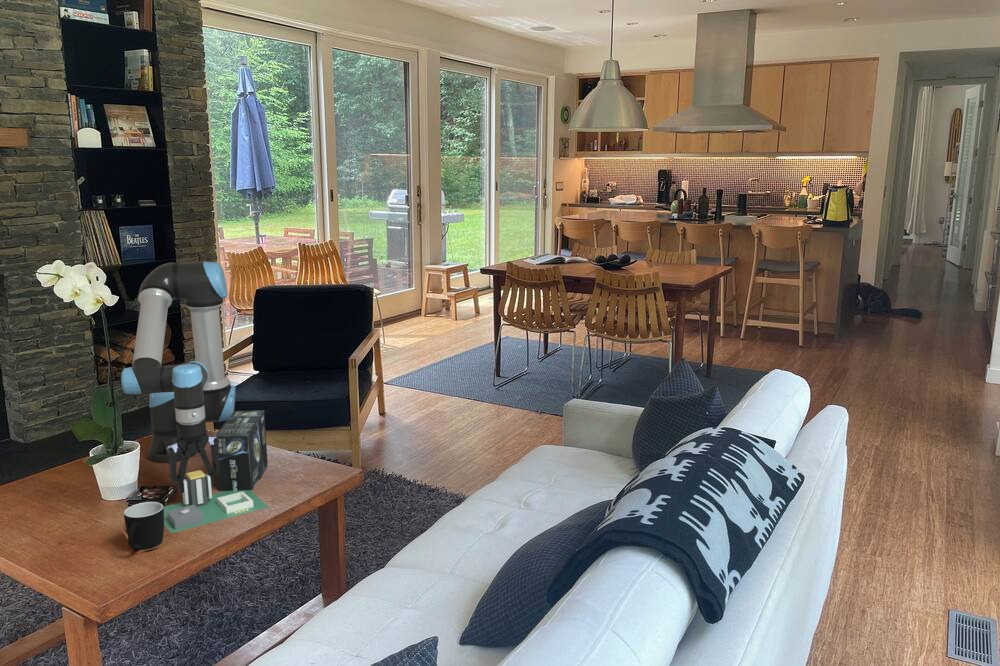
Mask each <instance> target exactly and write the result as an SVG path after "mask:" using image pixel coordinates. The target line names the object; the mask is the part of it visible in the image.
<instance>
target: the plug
mask: <svg viewBox="0 0 1000 666" xmlns="http://www.w3.org/2000/svg"><path fill="white" fill-rule="evenodd" d="M205 474H206V473H204V472H203V471H202V470H201V469H199V470H194V471H191V472H190V471H189V472H186V473H185V477H186V481H187V490H188V501H189V504H190V505H195V506H196V507H199V506H203V505H207V492H206V480H205Z"/></svg>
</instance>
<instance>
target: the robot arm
mask: <svg viewBox="0 0 1000 666" xmlns="http://www.w3.org/2000/svg"><path fill="white" fill-rule="evenodd" d="M228 295H229V293H228V284H227V279H226V275H225V272H224V268H223V267H222V265H221V264H220V263H219V262H216V261H186V262H183V261H181V262H167V263H163V264H161V265H159V266H156V268H154V269H153V270H152V271H151V272H150V273H148V275H147V276H146V277H145V279H144V280H143V281H142V283H141V284H140V288H139V290H138V297H137V301H138V303H139V304H140V309H139V315H138V322H137V329H136V336H135V342H134V351H133V357H132V364H131V365H132V366H130V367H125V368H123V370H122V371H121V374H120V382H121V383H120V385H121V389H122V392H123V393H124V394H126V395H143V394H145V395H146V394H149V396H148V400H149V404H148V407H149V413H150V414H149V415H150V423H151V437H150V442H149V446H148V452H147V454H148V459H149V460H150V461H153V462H155V463H169V466H168V467H169V468H168V469H169V479H170V480H171V482H173V483H177V489H178V492H179V493H180V494H181V495H182V502H184V503H185V504H189V501H188V490H187V480H185V479H184V478H185V477H186V473H187V468H188V464H189V463H188V462H189V459H190V458H192V457H194V456H196V455H197V454H199V456H200V459H201V461H202V463H203V466H204V468H205V470H206V472H207V473H204V474H205V480H206V492H207V497H208V498H209V499H210V498H212V493H213V491H212V487H213V486H214V485H215V475H216V473H217V472H219V471H220V462H219V455H218V447H217V446H218V442H219V439H218V438H217V437H215V435H213V436H208V433H207V432H208V430H207V423H220V422H226V421H227V420H228V418H229V417H230V416H231V414H232V413H233V411H235V404H236V392H237V391H236V386H235V385H233V384H232V385H231V381H230V378H228V377H226V374H225V363H224V362H225V361H224V353H223V352H224V350H223V341H222V340H223V339H222V329H221V318H220V308H221V306H222V305H223V304H224V299H226V298H227V297H228ZM174 300H184V307H186V308H188V310H190V318H191V319H190V320H191V328H192V330H191V331H192V339H193V349H194V350H193V351H194V358H195V359H194V360H192V361H189V362H186V363H185V364H177V365H174V364H173V365H172V364H171V365H162V363H163V355H164V354H163V353H164V347H165V346H164V343H165V337H166V336H165V335H166V329H167V328H166V327H167V319H168V318H167V317H168V309H169V308H170V306H171V305H172V304H173V303H172V302H173V301H174ZM208 443H209V445H210V451H211V461H212V464H211V462H210V460H209V457H208V455H207V453H206V450H205V447H206V446H207V444H208ZM179 461H180V462H179ZM177 462H179V465H178V466H179V467H178V469H177ZM177 470H178V471H177Z"/></svg>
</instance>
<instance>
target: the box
mask: <svg viewBox="0 0 1000 666" xmlns="http://www.w3.org/2000/svg"><path fill="white" fill-rule="evenodd" d="M265 417H266V415H265V410H261V409H260V410H259V409H258V410H234V411H233V413H232V414H231V416H230V417H229V418H228V420H227V421H224V423H223V425H222V426H221V427H220V429H219V430H218V431H217V433H216V434H215V435H214V436H215V437H217V438H218V439H219V442H218V446H217V447H218V455H219V462H220V471H219V472H216V473H217V484H218V486H217V487H218V492H225V491H244V490H250V491H253V489H254V488H255V487H256V485H257V483H258V481H261V479H262V477H263V475H264V473H265V471H266V469H267V467H268V463H269V462H268V453H267V452H268V451H267V449H268V448H267V434H266V431H267V430H266V418H265Z"/></svg>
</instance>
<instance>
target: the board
mask: <svg viewBox="0 0 1000 666" xmlns="http://www.w3.org/2000/svg"><path fill="white" fill-rule="evenodd" d="M266 508H269V505H267V504H266V503H265V502H264V501H263V500H262V499H260V498H259V497H258V496H257V495H256V494H255V492H253V490H244V491H220V492H217V493H214V494H212V498H210V499H209V498H208V497H207V505H203V506H199V507H196V506H195V505H190V504H185V503H184V502H183V501H181V502H177V503H172V504H169V505H163V509H164V527H166V529H167V530H168V532H169V533H170V534H174V533H178V532H181V531H185V530H188V529H192V528H195V527H199V526H200V527H201V526H203V525H206V524H207V525H208V524H210V523H215V522H220V521H221V520H226V519H229V518H230V519H231V518H233V517H237V516H242V515H244V514H249V513H252V512H255V511H259V510H263V509H266Z"/></svg>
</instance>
